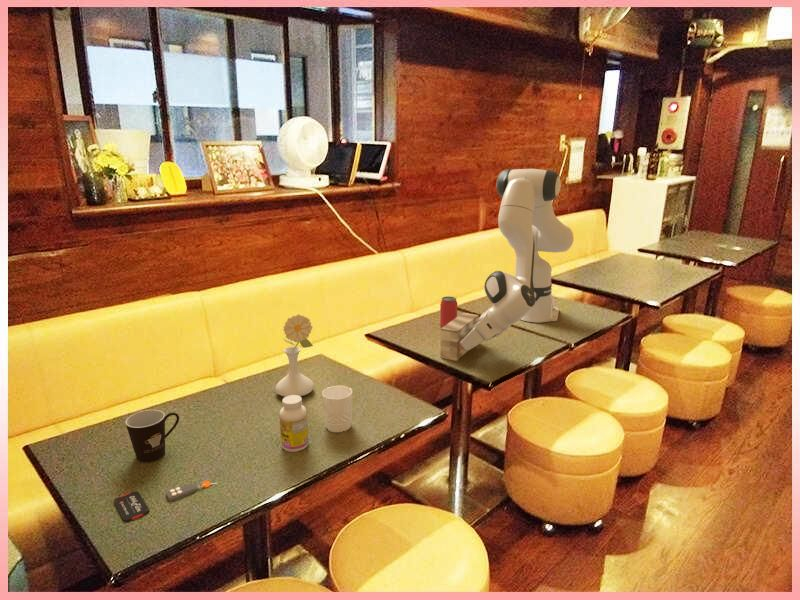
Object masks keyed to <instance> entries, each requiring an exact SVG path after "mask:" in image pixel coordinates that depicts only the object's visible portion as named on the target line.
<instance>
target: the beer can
mask: <svg viewBox="0 0 800 600" xmlns="http://www.w3.org/2000/svg"><path fill="white" fill-rule="evenodd" d="M439 313H440V314H439V317H440V318H439V327H440V329H441V328H442V327H444V326H445V325H447V324H448V323H449V322H451V321H452V320H454V319H455V318H456V317H458V301H457V298H456V297H453V296H443V297H442V298H441V300H440V312H439Z"/></svg>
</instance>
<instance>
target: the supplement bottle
mask: <svg viewBox="0 0 800 600" xmlns="http://www.w3.org/2000/svg"><path fill="white" fill-rule="evenodd" d="M281 402H282V406H283V407H281V409H280V410H279V413H278V415H279V427H280V428H279V429H280V443H281V448H282V449H283V450H284V451H285V452H290V453H292V452H293V453H296V452H300V451H302V450H304V449H306V448H307V447H308V445H309V430H308V411H307V408H306V407H305V406H304V405H303V398H302V396H298V395H289V396H286V397H284V396H283V398H282V401H281Z"/></svg>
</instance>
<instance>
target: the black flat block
mask: <svg viewBox="0 0 800 600" xmlns="http://www.w3.org/2000/svg"><path fill="white" fill-rule="evenodd" d="M113 504H114V506H115V508H116V509H117V512H118V513H119V515H120V517H121V519H122V521H123V522H125V523H127V522H131V521H135V520H137V519H140V518H142V517H144V516H145V515H148V513H150V509H149V507H148V505H147V504H146V502H145V500H144V498H143V497H142V495H141V494H140V491H132V492H128V493H125V494H122V495H120V496H119V497H117V498H115V499H113Z"/></svg>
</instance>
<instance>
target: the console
mask: <svg viewBox="0 0 800 600" xmlns="http://www.w3.org/2000/svg"><path fill="white" fill-rule="evenodd" d="M479 318H480V317H479V314H475V313H474V314H473V313H467V312H462V313H461V314H459V315H457V317H456V318H455V319H454V320H452V321H451V322H449V323H448V324H447V325H445V326H444V327H442V328H441V327H440V358H441V359H445V360H450V361H456V362H458V361H459V359H460V358H461V357H463V356H464V355H465V354H466V353H468V351H466V350H465V349H464V348H463V349H462V350H458V341H459V340H460V339H464V338H465V337H466V335H467V334H468V333H469V332H470V331H471V330H472V329H473V328H474V327H475V324H476V323H477V322H478V321H479Z"/></svg>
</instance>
